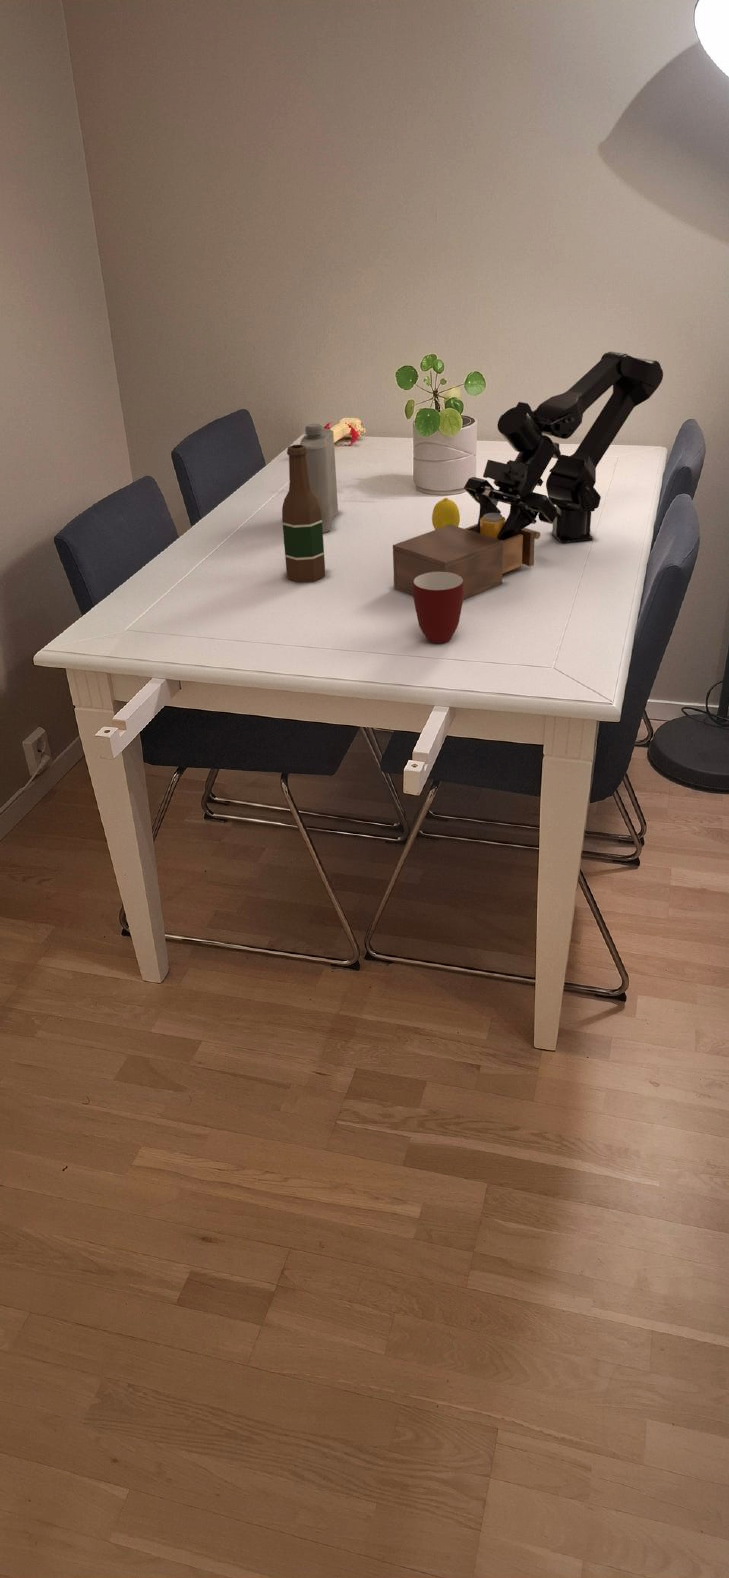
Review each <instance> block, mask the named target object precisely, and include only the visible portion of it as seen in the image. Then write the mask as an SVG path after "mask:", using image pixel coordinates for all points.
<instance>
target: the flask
mask: <svg viewBox="0 0 729 1578" xmlns="http://www.w3.org/2000/svg"><path fill="white" fill-rule="evenodd" d="M304 428H305V430H304V431H305V435H303V437H302V438H301V440H300V443H299V445H304V446H306V449H307V454H306V461H307V469H308V477H309V483H310V487H311V490H312V492H313V493H314V494H315V496H316V497H317V499H318V501H319V504H320V508H321V515H322V529H323V534H325V533H328V532H330V531H331V530H332V529H333V527H332V521H333V519H334V518H335V517H336V516H337V515H338V514H339V501H338V487H337V469H336V468H337V467H336V452H335V451H336V450H335V443H334V433H333V431H332V430H330V429H331V428H330V429H324V425H322V424H320V423H310V424H307V425H306V426H305V427H304Z"/></svg>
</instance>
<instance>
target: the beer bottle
mask: <svg viewBox="0 0 729 1578" xmlns="http://www.w3.org/2000/svg"><path fill="white" fill-rule="evenodd" d="M286 454H287V456H288V472H289V474H288V475H289V476H288V477H289V483H288V484H289V485H288V486H289V487H288V492H287V493H286V496H285V497H284V499H283V503H282V507H281V521H282V533H283V534H282V535H283V536H282V537H283V546H284V547H283V548H284V558H285V569H286V575H287V579H288V580H289V581H293V582H296V583H313V582H317V581H319V580H321V579H323V578H325V576H326V561H325V550H324V549H325V548H324V533H323V529H322V515H321V508H320V504H319V501H318V499H317V497H316V496H315V494H314V493H313V492H312V490H311V487H310V483H309V477H308V469H307V461H306V454H307V449H306V446H304V445H300V444H291V445H290V446H287V450H286Z"/></svg>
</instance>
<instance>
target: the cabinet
mask: <svg viewBox="0 0 729 1578" xmlns="http://www.w3.org/2000/svg"><path fill="white" fill-rule="evenodd" d="M392 567H393V589H394V590H397V591H399V592H403V593H405V594H408V595H411V596H413V580H414V579H415V578H416V577H417V576H419V575H422V574H425V573H430V572H449V573H454V574H457V575H459V576H461V577H462V578H463V581H464V597H463V601H465V600H468V599H470V598H472V597H475V596H477V595H480V594H483V593H484V592H486V591H489V590H491V589H495V588H496V587H498V586H501V585H503V574H502V568H503V540H500V539H496V538H493V537H490V536H487V535H483V534H480V533H477V532H473V531H470V530H467V529H465V528H463V527H460V526H458V527H457V526H453V525H448V526H445V527H442V528H439V529H437V530H435V529H434V530H431V531H428V532H426V533H423V534H420V535H417V536H415V537H412V538H409V539H405V540H403V541H400V542H397V543H395V544H392Z"/></svg>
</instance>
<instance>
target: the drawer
mask: <svg viewBox="0 0 729 1578" xmlns="http://www.w3.org/2000/svg"><path fill="white" fill-rule="evenodd" d="M477 524H478V523H475V524H473V525H470V526H467V527H464V529H467V530H470V531H473V532H476V530H477ZM540 537H541V532H540V531H537V530H534V529H531V528H527V527H525V528H523V529H521V530H520V531H518V532H517V533H515V534H514V535H512V536H511V537H509V538H508V539H506V540H503V568H502V575H503V574H505V573H508V572H511V571H513V570H515V569H518V568H520V567H522V566H527V567H532V566H534V563H535V544H536V543H535V541H536V540H538V539H540Z"/></svg>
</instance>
